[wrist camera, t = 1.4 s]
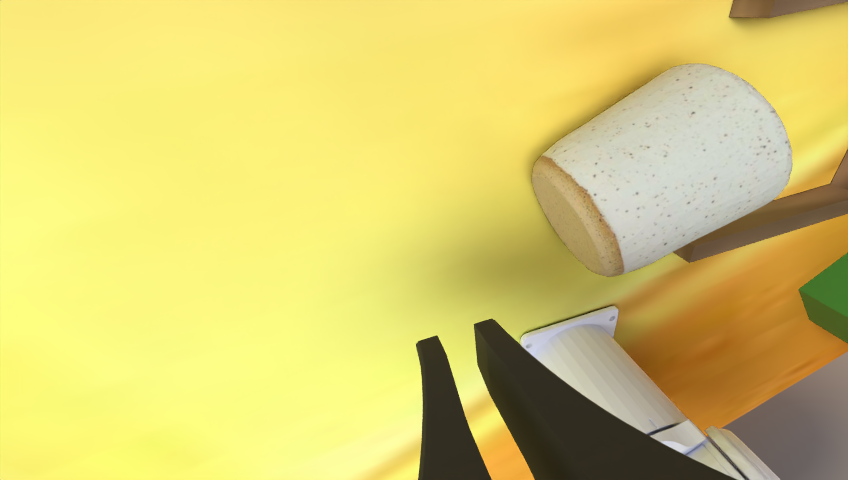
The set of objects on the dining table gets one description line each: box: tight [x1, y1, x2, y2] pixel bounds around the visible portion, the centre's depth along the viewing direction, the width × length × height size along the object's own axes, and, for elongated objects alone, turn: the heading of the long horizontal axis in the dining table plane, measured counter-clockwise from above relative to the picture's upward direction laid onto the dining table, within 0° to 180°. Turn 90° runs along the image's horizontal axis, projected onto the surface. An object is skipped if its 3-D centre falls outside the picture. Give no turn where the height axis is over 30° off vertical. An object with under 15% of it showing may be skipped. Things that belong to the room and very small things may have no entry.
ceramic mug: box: [532, 64, 792, 277], centre depth 19 cm, size 11×8×8 cm
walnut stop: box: [673, 0, 848, 263], centre depth 23 cm, size 16×15×2 cm
